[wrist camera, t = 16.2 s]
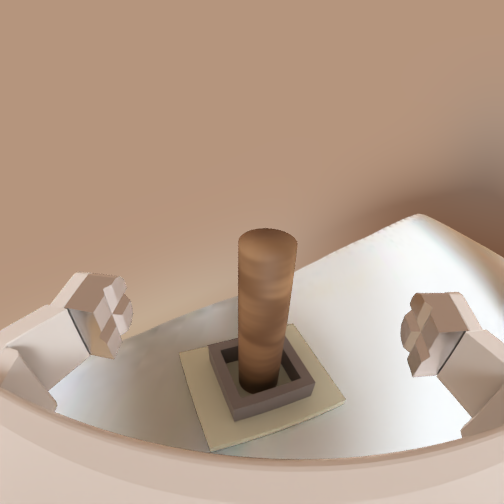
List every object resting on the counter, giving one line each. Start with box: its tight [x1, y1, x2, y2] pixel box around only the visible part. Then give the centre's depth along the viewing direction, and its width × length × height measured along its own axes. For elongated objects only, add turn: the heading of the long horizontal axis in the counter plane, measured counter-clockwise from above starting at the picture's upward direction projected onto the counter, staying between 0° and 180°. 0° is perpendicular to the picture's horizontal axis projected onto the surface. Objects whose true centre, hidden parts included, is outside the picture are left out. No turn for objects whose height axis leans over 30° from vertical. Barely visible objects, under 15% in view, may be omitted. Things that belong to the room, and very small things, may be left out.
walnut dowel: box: [238, 228, 297, 394], centre depth 25 cm, size 4×4×16 cm
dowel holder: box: [179, 324, 346, 452], centre depth 29 cm, size 14×12×4 cm
